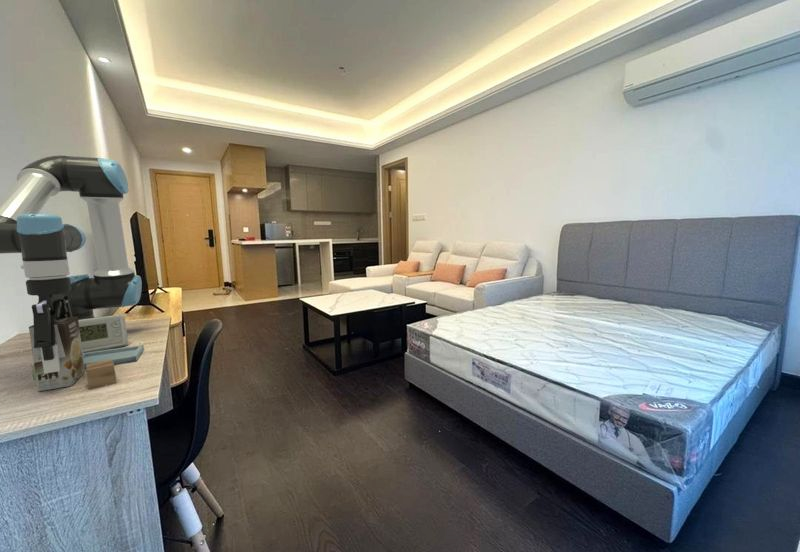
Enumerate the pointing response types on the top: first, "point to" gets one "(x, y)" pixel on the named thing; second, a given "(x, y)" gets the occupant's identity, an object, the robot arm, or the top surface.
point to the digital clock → (102, 333)
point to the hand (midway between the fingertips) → (60, 364)
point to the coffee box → (61, 356)
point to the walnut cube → (100, 374)
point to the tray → (114, 355)
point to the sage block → (33, 372)
